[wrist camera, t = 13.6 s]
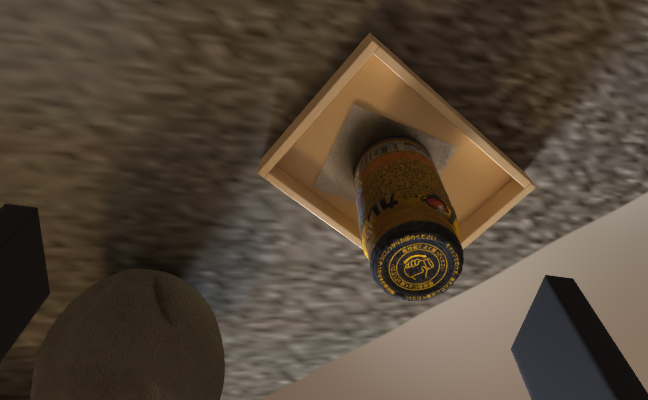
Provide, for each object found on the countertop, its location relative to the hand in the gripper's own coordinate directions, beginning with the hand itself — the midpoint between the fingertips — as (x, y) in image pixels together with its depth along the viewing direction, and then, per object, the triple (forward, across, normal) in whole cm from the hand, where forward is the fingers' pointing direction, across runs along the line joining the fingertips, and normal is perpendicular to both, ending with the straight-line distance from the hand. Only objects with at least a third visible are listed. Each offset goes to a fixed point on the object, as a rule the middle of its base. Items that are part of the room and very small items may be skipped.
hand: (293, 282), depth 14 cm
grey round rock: (+24, -10, -24) cm, 36 cm away
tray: (+25, +7, -8) cm, 27 cm away
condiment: (+24, +6, -8) cm, 26 cm away
